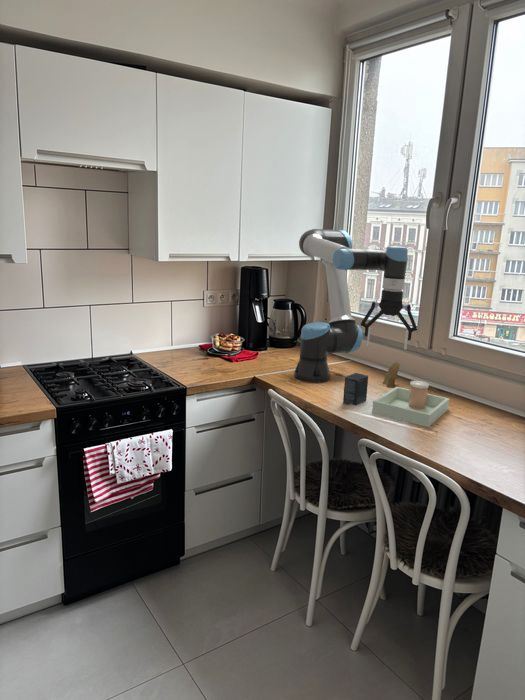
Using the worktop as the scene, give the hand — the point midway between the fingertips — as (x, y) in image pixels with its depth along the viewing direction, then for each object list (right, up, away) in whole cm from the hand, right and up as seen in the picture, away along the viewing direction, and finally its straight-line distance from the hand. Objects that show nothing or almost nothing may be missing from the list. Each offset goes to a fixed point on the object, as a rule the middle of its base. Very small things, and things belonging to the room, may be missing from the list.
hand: (386, 347), depth 198 cm
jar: (+11, -22, -2) cm, 24 cm away
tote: (+7, -24, -7) cm, 26 cm away
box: (-12, -21, +1) cm, 24 cm away
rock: (+6, -16, +24) cm, 30 cm away
